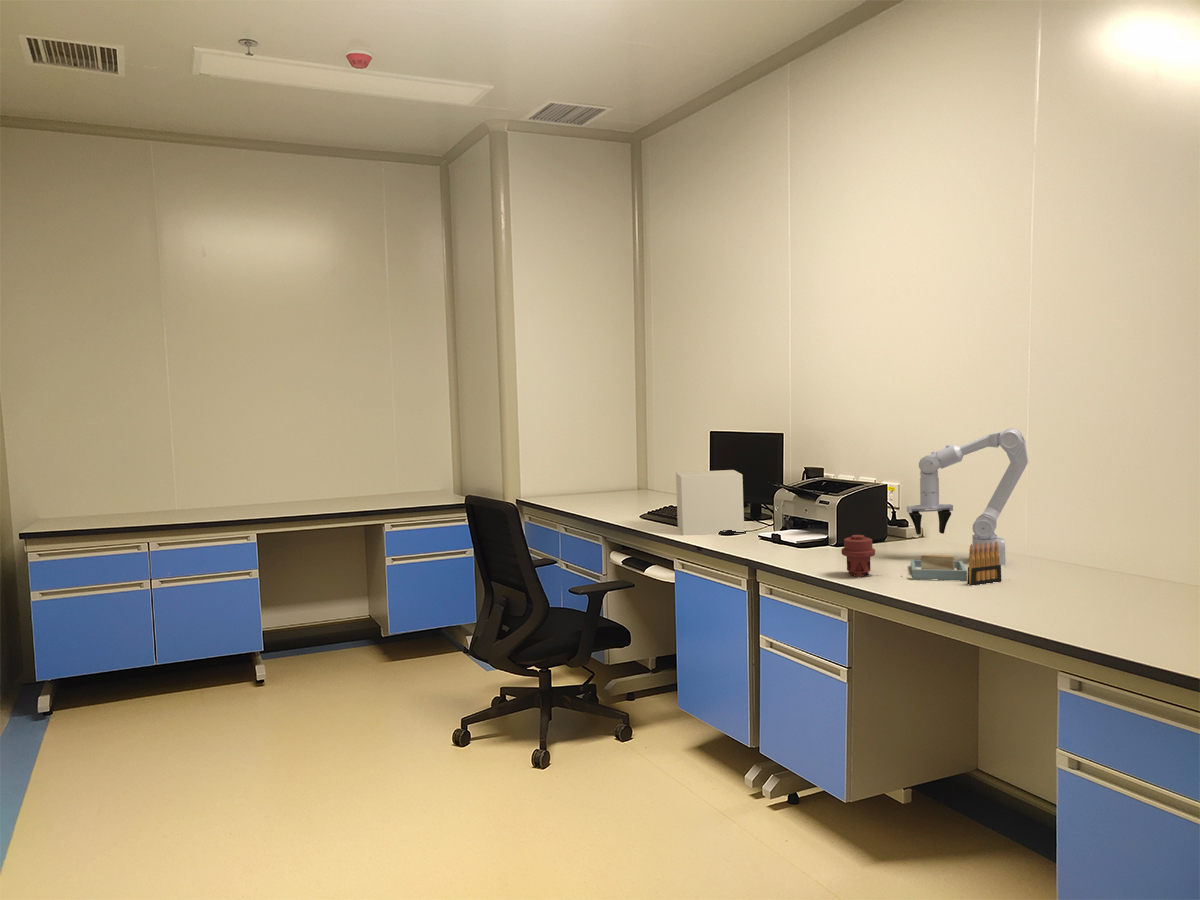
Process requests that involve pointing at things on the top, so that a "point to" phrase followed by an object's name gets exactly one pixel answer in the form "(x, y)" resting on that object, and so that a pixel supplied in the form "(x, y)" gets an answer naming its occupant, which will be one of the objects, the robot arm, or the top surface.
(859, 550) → the mechanical component
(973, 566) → the ammunition clip
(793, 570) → the top surface
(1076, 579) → the top surface
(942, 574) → the bin
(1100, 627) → the top surface
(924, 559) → the wooden block
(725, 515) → the cube
